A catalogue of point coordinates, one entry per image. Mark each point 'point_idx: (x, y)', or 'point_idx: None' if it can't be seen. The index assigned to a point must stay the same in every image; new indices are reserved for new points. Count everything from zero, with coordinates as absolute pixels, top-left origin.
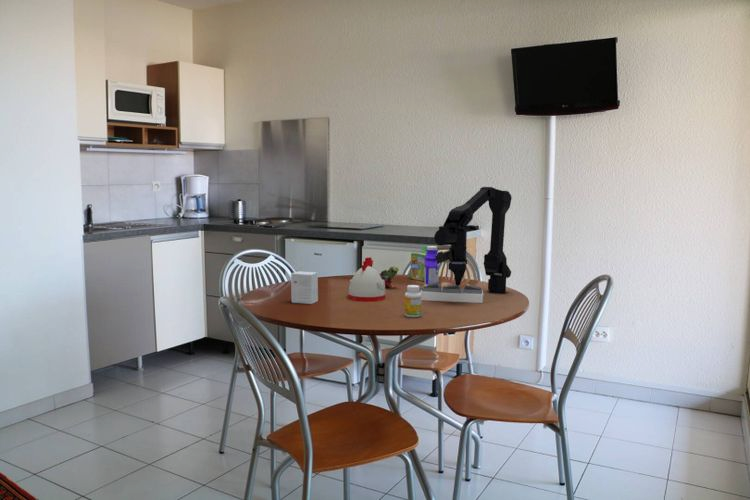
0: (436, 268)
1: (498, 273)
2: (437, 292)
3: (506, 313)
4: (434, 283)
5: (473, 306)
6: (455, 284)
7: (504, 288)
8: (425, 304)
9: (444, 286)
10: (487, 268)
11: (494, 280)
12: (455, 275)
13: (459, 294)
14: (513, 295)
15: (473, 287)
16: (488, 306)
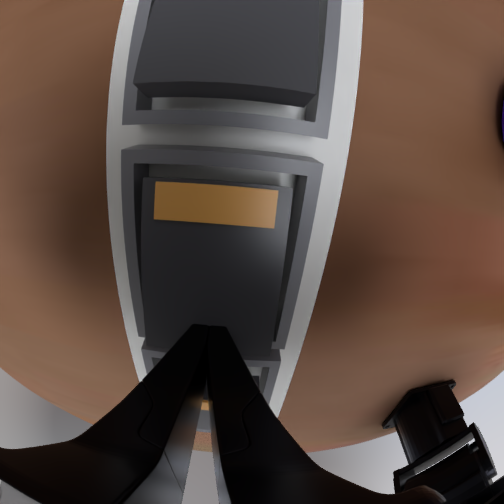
0: None
1: (456, 449)
2: (121, 98)
3: (31, 385)
4: (289, 35)
5: (61, 323)
6: (239, 321)
7: (398, 432)
8: (29, 56)
9: (306, 179)
10: (458, 466)
11: (423, 439)
12: (120, 419)
13: (122, 298)
14: (344, 440)
15: None
16: (94, 375)
